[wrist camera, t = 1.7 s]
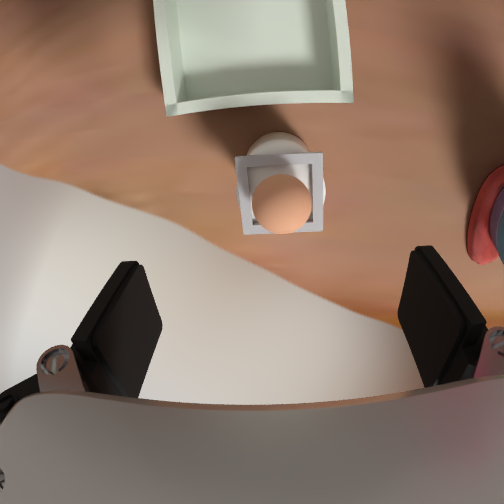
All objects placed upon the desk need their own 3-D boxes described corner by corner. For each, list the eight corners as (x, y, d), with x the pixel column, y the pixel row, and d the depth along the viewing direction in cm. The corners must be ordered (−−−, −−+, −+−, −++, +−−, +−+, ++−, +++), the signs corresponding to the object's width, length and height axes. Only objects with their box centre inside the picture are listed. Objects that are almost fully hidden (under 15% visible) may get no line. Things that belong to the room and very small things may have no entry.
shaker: (311, 130, 22) (325, 149, 16) (313, 194, 24) (326, 233, 19) (242, 134, 22) (230, 154, 16) (248, 197, 25) (240, 237, 19)
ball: (307, 165, 17) (315, 184, 14) (309, 216, 19) (315, 243, 16) (251, 168, 17) (246, 187, 14) (255, 219, 19) (252, 246, 16)
